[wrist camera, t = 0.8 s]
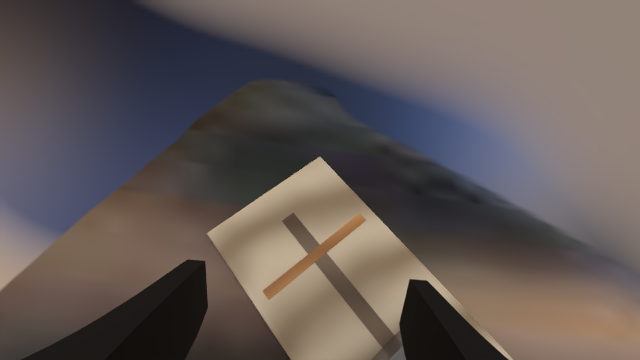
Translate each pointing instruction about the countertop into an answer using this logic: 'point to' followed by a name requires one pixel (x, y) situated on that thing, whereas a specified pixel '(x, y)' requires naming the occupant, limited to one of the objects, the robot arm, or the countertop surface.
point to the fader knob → (392, 350)
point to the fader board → (323, 268)
